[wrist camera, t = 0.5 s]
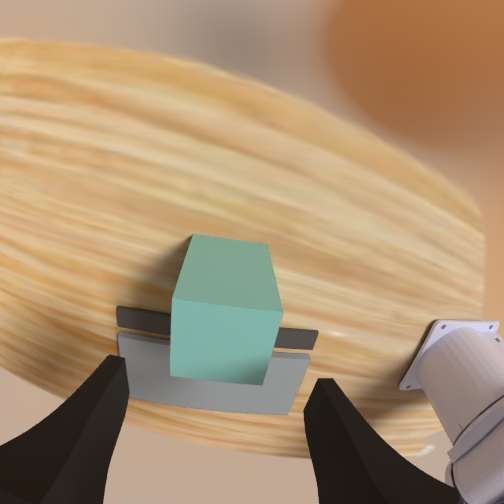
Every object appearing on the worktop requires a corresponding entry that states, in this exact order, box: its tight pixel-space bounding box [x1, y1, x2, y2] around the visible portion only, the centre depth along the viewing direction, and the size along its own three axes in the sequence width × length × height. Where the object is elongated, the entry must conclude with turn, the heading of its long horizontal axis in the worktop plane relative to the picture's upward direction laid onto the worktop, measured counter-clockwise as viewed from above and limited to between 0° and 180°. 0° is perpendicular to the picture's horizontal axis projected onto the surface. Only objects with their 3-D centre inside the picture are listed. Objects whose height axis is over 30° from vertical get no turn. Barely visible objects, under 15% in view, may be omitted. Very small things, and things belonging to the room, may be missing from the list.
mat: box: [118, 332, 311, 415], centre depth 23 cm, size 14×7×1 cm, turn 80°
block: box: [170, 234, 283, 386], centre depth 16 cm, size 4×4×7 cm
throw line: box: [117, 306, 318, 350], centre depth 21 cm, size 14×2×1 cm, turn 80°
